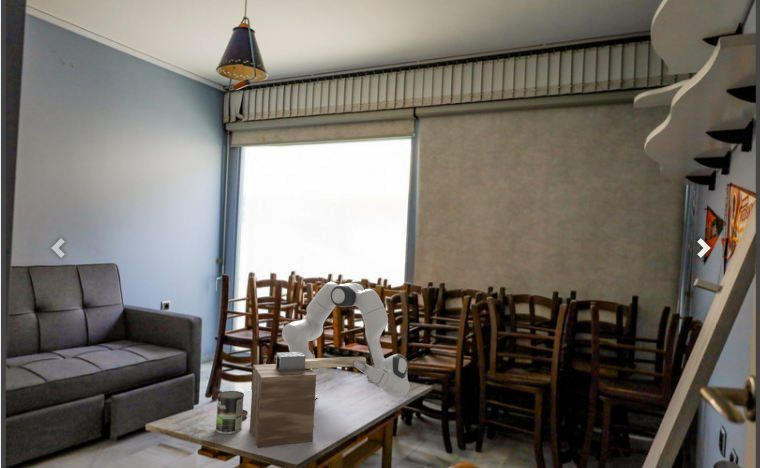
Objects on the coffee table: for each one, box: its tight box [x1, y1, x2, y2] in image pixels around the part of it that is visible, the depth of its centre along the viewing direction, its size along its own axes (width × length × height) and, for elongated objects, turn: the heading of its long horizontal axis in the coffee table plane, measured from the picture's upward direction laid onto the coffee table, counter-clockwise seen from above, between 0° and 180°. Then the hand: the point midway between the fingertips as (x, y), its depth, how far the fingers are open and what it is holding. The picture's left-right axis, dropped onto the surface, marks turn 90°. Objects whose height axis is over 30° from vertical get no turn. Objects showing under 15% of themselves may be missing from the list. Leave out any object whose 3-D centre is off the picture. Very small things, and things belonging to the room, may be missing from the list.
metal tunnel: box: [275, 351, 306, 372], centre depth 199 cm, size 8×10×6 cm
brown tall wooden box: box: [249, 363, 317, 449], centre depth 198 cm, size 20×21×26 cm
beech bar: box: [305, 356, 367, 369], centre depth 206 cm, size 4×28×3 cm, turn 113°
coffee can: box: [215, 390, 245, 435], centre depth 201 cm, size 10×10×14 cm
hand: (351, 360), depth 209 cm, fingers closed on beech bar, 4 cm apart
